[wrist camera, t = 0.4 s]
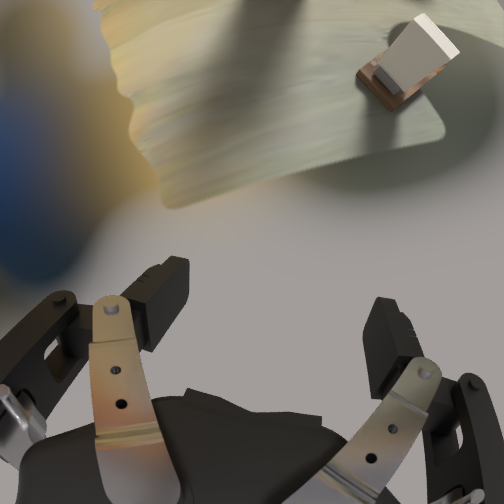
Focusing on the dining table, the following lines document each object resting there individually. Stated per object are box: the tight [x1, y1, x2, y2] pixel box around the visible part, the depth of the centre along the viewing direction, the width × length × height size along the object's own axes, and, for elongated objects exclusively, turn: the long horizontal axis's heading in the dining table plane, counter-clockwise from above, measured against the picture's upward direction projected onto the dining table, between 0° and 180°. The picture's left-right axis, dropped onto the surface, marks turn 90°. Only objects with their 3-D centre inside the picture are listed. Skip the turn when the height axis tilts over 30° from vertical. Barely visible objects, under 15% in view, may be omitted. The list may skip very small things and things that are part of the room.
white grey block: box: [373, 13, 460, 95], centre depth 22 cm, size 3×5×14 cm, turn 43°
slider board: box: [356, 49, 447, 112], centre depth 29 cm, size 14×7×2 cm, turn 133°
